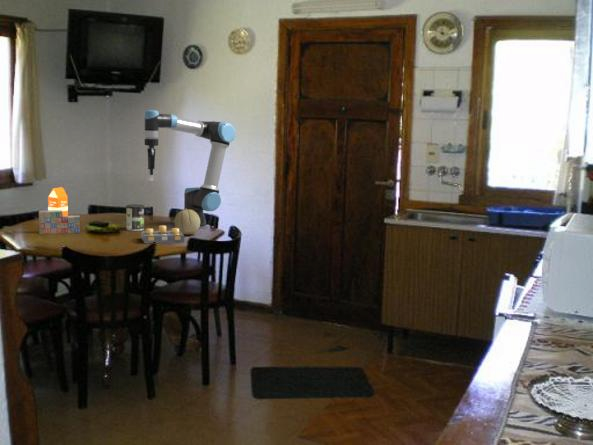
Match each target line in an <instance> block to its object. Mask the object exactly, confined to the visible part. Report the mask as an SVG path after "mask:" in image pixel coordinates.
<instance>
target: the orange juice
mask: <svg viewBox="0 0 593 445" xmlns="http://www.w3.org/2000/svg"><path fill="white" fill-rule="evenodd" d="M68 198H69V197H68V195H67V193H66V190H65V189H64V188H63V187H54V188H52V190H51V192H50V193H49V195H48V196H47V205H48V206H47V210H63V216H69V210H68V209H69V206H68V204H69V203H68V202H69V201H68Z"/></svg>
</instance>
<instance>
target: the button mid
mask: <svg viewBox="0 0 593 445" xmlns="http://www.w3.org/2000/svg"><path fill="white" fill-rule="evenodd" d="M158 231H159V234H166V231H167V225H164V224H163V225H158Z"/></svg>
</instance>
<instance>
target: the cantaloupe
mask: <svg viewBox="0 0 593 445" xmlns="http://www.w3.org/2000/svg"><path fill="white" fill-rule="evenodd" d="M184 209H185V210H184ZM174 226H175V227H174V228H179V231H181V232H182V233H183V234H184V236H189V235H194V234H195V233H196V232H198V230H199V229H200V227H201V226H200V218H199V216H198V214H197V213H196V212H195V211H193V210H189V209H186V208H183V210H179V212H178V213H177V214H176V215H175V217H174Z"/></svg>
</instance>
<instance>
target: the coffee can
mask: <svg viewBox="0 0 593 445" xmlns="http://www.w3.org/2000/svg"><path fill="white" fill-rule="evenodd" d="M125 208H126V210H125V211H126V214H125V215H126V216H125V217H126V219H125V221H126V226H125V227H126V230H127V231H132V232H136V231H137V232H140V231H145V205H144V204H126V205H125ZM126 230H125V231H126Z"/></svg>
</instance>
